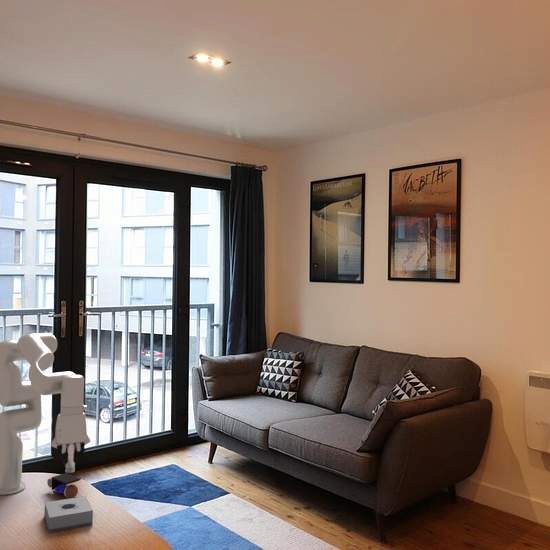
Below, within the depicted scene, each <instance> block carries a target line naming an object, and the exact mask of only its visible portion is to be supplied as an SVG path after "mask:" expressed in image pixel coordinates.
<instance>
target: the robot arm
mask: <svg viewBox="0 0 550 550" xmlns="http://www.w3.org/2000/svg"><path fill="white" fill-rule="evenodd" d="M57 349H58V340H57V338H56V337H55V335H53V333H50V332H39V333H27V334H24V335H22V336H20V337H19V338H18V339H9V340H8V339H7V340H2V341H1V342H0V406H2V407H5V408H6V407H15V406H22V405H25V407H21V408H14V409H8V410H7V409H6V410H3V411H1V412H0V496H5V495H6V496H8V495H12V494H16V493H20V492H22V491H24V490H25V488H26V483H25V482H24V481H22V477H23V476H22V472H23V452H24V451H23V449H24V448H23V447H24V446H23V445H24V444H23V441H22V440H21V439H20V437H19V436H18V434H20V433H25V432H30V431H34V430H36V429H38V428H39V427H40V425H41V424H42V423H41V422H42V396H50V395H51V396H52V395H58V394H60V412H59V414H58V415H57V418H56V423H55V432H54V435H55V436H54V438H53V440H52V442H51V443H50V446H51V447H52V448H55V449H56V450H57V449H58V450H59V451H60V452H61V463H63V464H64V465H65V466H66V464H67V453H66V444H71V443H75V464H78V460H80V452H81V450H82V449H83V448H84V447H85V446H86V445H88V444H89V443H91V439H90V437H89V435H88V434H87V418H86V417H87V416H86V413H85V411H86V410H89V409H88V405H85V404H84V395H85V394H84V392H85V391H84V389H85V377H84V376H83V375H81V374H76V373H74V372H73V371H69V370H68V371H58V372H50V373H49V372H48V373H45V372H44V371H46V370H48V369H49V368H50V367H51V366H52V365H53V363H54V362H55V355H54V353H55V352H56V350H57ZM17 361H27V362H28V364H29V365H30V366H29V369H28V380H22V371H21V368H20V366H19V365H18V364H17Z"/></svg>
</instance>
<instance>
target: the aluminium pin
mask: <svg viewBox="0 0 550 550" xmlns="http://www.w3.org/2000/svg"><path fill="white" fill-rule="evenodd" d="M75 448H76V444H75V443H71V444H66V453H67V464H66V465H65V473H67V474H70V473H75V470H76V469H75V467H76V463H75Z"/></svg>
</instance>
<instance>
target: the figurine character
mask: <svg viewBox="0 0 550 550" xmlns="http://www.w3.org/2000/svg"><path fill="white" fill-rule="evenodd" d="M81 480H82V479H81V478H80V477H77V476H75V475H72V474H70V473H66V472H65V473H61V474H58V475H55V476H52V477H51V478H48V479H47V483H46V484H47V486H48V488H51V491H52V492H53V493H56V494H57V493H60V494H63V495H64V496H65V498H66V499H71V498H76V496H77V494H78V492H79V488H78V486H77V485H75V484H73V483H77V482H79V481H81Z"/></svg>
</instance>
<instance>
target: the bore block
mask: <svg viewBox="0 0 550 550" xmlns="http://www.w3.org/2000/svg"><path fill="white" fill-rule="evenodd" d="M93 515H94V510H93V508H92V505H91V503H90V501H89V500H88V498H87V496H85V495H84V496H77V497H73V498H65V499H59V500H53V501H52V500H51V501H47V502H46V501H45V502H44V516H43V517H44V520H45V524H46V527H47V530H48V533H55V532H60V531H65V530H71V529H77V528H82V527H88V526H93V524H94V523H93V522H94V521H93V517H94V516H93Z"/></svg>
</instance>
